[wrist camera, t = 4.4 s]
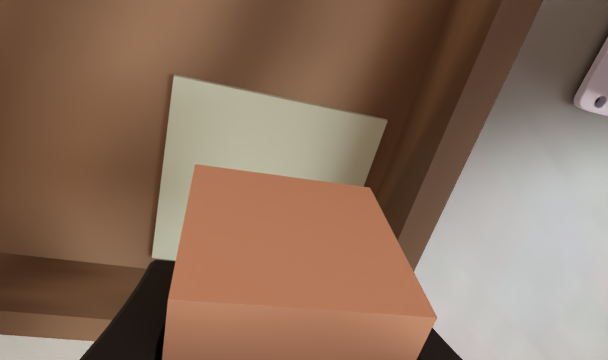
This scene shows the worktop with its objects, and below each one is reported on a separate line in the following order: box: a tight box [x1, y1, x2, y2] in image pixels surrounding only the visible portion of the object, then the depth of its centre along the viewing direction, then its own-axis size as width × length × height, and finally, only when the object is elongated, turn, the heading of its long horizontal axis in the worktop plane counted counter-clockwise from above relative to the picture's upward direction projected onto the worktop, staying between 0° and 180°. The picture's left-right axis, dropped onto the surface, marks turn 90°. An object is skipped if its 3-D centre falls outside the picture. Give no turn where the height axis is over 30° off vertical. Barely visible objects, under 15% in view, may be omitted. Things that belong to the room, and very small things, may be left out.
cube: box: [162, 164, 437, 360], centre depth 10 cm, size 4×4×4 cm
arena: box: [0, 0, 543, 341], centre depth 16 cm, size 16×16×4 cm
